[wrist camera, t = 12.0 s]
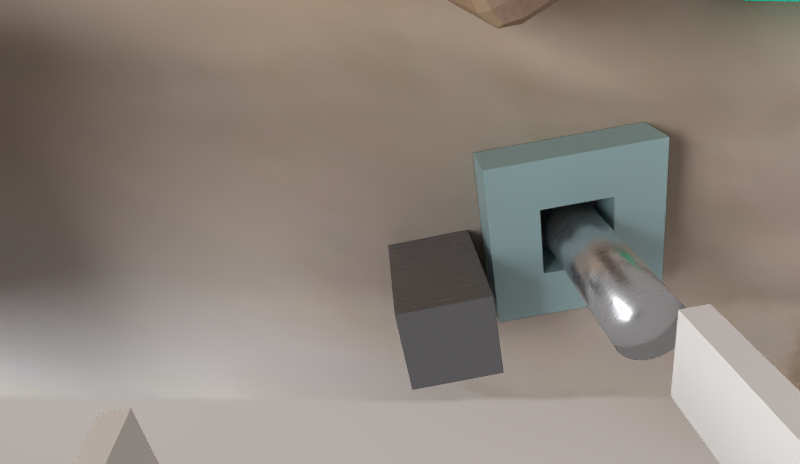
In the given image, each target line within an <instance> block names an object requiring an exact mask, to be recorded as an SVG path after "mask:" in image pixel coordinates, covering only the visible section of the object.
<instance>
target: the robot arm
mask: <svg viewBox="0 0 800 464" xmlns="http://www.w3.org/2000/svg"><path fill="white" fill-rule="evenodd" d="M671 397H672V399H673V400H674V401H675V403H676V404H677V405H678V406H679V408H680V410H681V411H682V412H683V414H684V415H685V416H686V418H687V419H688V421H689V422H690V423H691V425H692V426H693V427H694V429H695V430H696V432H697V433H698V434H699V436H700V437H701V438H702V440H703V441H704V443H705V444H706V445H707V447H708V448H709V449H710V451H711V452H712V453H713V455H714V456H715V458H716V459H717V460H718V462H719V463H720V464H800V391H799V390H798V389H797V388H796V387H795V386H794V385H793V384H792V383H791V382H790V381H789V380H788V379H787V378H786V377H785V376H784V375H783V374H782V373H781V372H780V371H779V370H778V369H777V368H775V367H774V366H773V365H772V364H771V363H770V362H769V361H768V360H767V359H766V358H765V357H764V356H763V355H762V354H761V353H760V352H759V351H758V350H757V349H756V348H755V347H754V346H753V345H752V344H751V343H750V342H749V341H748V340H747V339H746V338H745V337H744V336H743V335H742V334H741V333H740V332H739V331H737V330H736V329H735V328H734V327H733V326H732V325H731V324H730V323H729V322H728V321H727V320H726V319H725V318H724V317H723V316H722V315H721V314H720V313H719V312H718V311H717V310H716V309H715V308H714V307H713V306H712V305H711V304H707V305H701V306H696V307H690V308H685V309H679V310H678V321H677V332H676V343H675V354H674V365H673V376H672V387H671ZM73 464H159V463H158V462H157V459H156V457H155V455H154V453H153V451H152V449H151V447H150V445H149V443H148V442H147V439H146V438H145V435H144V433H143V431H142V429H141V427H140V425H139V423H138V421H137V420H136V418H135V416H134V414H133V412H132V410H131V408H130V409H125V410H119V411H113V412H108V413H102V414H98V417H97V418H96V420H95V422H94V424H93V426H92V428H91V430H90V432H89V434H88V435H87V437H86V439H85V441H84V443H83V445H82V447H81V449H80V451H79V452H78V454H77V456H76V458H75V460H74V462H73Z"/></svg>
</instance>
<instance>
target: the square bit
mask: <svg viewBox="0 0 800 464" xmlns="http://www.w3.org/2000/svg"><path fill="white" fill-rule="evenodd" d="M388 247H389V257H390V268H391V278H392V289H393V299H394V310H395V317H396V321H397V326H398V330H399V334H400V339H401V343H402V347H403V351H404V356H405V360H406V364H407V368H408V373H409V377H410V381H411V386H412V390H414V389H419V388H424V387H430V386H435V385H440V384H445V383H451V382H456V381H461V380H467V379H472V378H477V377H482V376H488V375H493V374H498V373H504V372H503V365H502V357H501V350H500V342H499V335H498V328H497V320H496V313H495V305H494V298H493V294H492V292H491V289H490V286H489V284H488V281H487V279H486V276H485V273H484V271H483V268H482V266H481V263H480V260H479V258H478V255H477V252H476V250H475V247H474V245H473V242H472V239H471V237H470V234H469V232H468V230H464V231H459V232H454V233H449V234H444V235H439V236H434V237H429V238H423V239H418V240H413V241H408V242H403V243H398V244H393V245H388Z"/></svg>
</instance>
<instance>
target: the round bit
mask: <svg viewBox="0 0 800 464" xmlns="http://www.w3.org/2000/svg"><path fill="white" fill-rule="evenodd" d="M540 220H541V236H542V237H543V239H544V240H545V242H546V243H547V245H548V246H549V248H550V249H551V251H552V252H553V254H554V256H555V257H556V259H557V260H558V262H559V263H560V265H561V266H562V268H563V269H564V271H565V272H566V274H567V275H568V277H569V278H570V280H571V281H572V283H573V284H574V286H575V287H576V289H577V290H578V292H579V294H580V295H581V297H582V298H583V300H584V301H585V303H586V304H587V306H588V307H589V309H590V310H591V312H592V313H593V315H594V316H595V318H596V319H597V321H598V322H599V324H600V325H601V327H602V329H603V330H604V332H605V333H606V335H607V336H608V338H609V339H610V341H611V342H612V344H613V345H614V347H615V348H616V350H617V351H618V352H619V353H620V354H622V355H623V356H625V357H627V358H630V359H634V360H648V359H653V358H656V357H659V356H662V355H664V354H666V353H667V352H669V351H670V350H672V349H673V348H674V347H675V343H676V332H677V321H678V310H679V309H685V306H684V305H683V304H682V303H681V302H680V301H679V300H678V299H677V298H676V297H675V296H674V295H673V293H672V292H671V291H670V290H669V289H668V288H667V287H666V286H665V285H664V284H663V283H662V282H661V281H660V280H659V278H658V277H657V276H656V275H655V274H654V273H653V272H652V271H651V270H650V269H649V268H648V267H647V266H646V265H645V263H644V262H643V261H642V260H641V259H640V258H639V257H638V256H637V255H636V254H635V253H634V252H633V251H632V250H631V248H630V247H629V246H628V245H627V244H626V243H625V242H624V241H623V240H622V239H621V238H620V237H619V236H618V235H617V233H616V232H615V231H614V230H613V229H612V228H611V227H610V226H609V225H608V224H607V223H606V222H605V221H604V219H603V218H602V217H601V216H600V215H599V214H598V213H597V212H596V211H595V210H594V209H593V208H592V207H591V206H590V204H589V203H588V202H582V203H577V204H571V205H566V206H560V207H555V208H549V209H543V210H540Z"/></svg>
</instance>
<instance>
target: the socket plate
mask: <svg viewBox="0 0 800 464" xmlns="http://www.w3.org/2000/svg"><path fill="white" fill-rule="evenodd" d="M668 157H669V136H667V135H665V134H664V133H662V132H660V131H659V130H657V129H655V128H654V127H652V126H651V125H649V124H647V123H646V122H642V123H636V124H631V125H625V126H620V127H614V128H609V129H603V130H598V131H592V132H587V133H581V134H576V135H570V136H564V137H559V138H553V139H548V140H542V141H537V142H531V143H526V144H520V145H515V146H509V147H504V148H498V149H493V150H487V151H482V152H476V153H473V158H474V167H475V176H476V185H477V193H478V202H479V211H480V220H481V228H482V237H483V246H484V255H485V263H486V272H487V281H488V284H489V286H490V289H491V292H492V294H493V298H494V305H495V313H496V316H497V318H498V321H499V322H504V321H510V320H515V319H521V318H527V317H532V316H538V315H544V314H549V313H555V312H561V311H567V310H572V309H578V308H584V307H588V306H587V304H586V303H585V301H584V300H583V298H582V297H581V295H580V294H579V292H578V290H577V289H576V287H575V286H574V284H573V283H572V281H571V280H570V278H569V277H568V275H567V274H566V272H565V271H564V269H563V268H562V266H561V265H560V263H559V262H558V260H557V259H556V257H555V256H554V254H553V252H552V251H551V249H550V248H549V246H548V245H547V243H546V242H545V240H544V239H543V237H542V236H541V220H540V210H543V209H549V208H555V207H560V206H566V205H571V204H577V203H582V202H588V203H589V204H590V206H591V207H592V208H593V209H594V210H595V211H596V212H597V213H598V214H599V215H600V216H601V217H602V218H603V219H604V221H605V222H606V223H607V224H608V225H609V226H610V227H611V228H612V229H613V230H614V231H615V232H616V233H617V235H618V236H619V237H620V238H621V239H622V240H623V241H624V242H625V243H626V244H627V245H628V246H629V247H630V248H631V250H632V251H633V252H634V253H635V254H636V255H637V256H638V257H639V258H640V259H641V260H642V261H643V262H644V263H645V265H646V266H647V267H648V268H649V269H650V270H651V271H652V272H653V273H654V274H655V275H656V276H657V277H658V278H659V280H660V281H661V282H662V274H663V254H664V235H665V215H666V196H667V176H668Z"/></svg>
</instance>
